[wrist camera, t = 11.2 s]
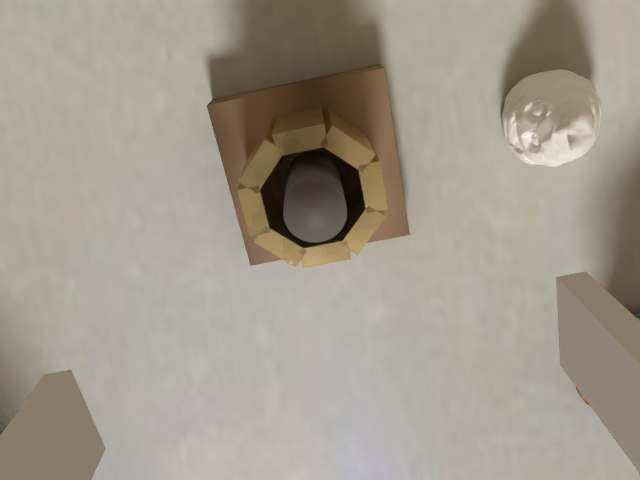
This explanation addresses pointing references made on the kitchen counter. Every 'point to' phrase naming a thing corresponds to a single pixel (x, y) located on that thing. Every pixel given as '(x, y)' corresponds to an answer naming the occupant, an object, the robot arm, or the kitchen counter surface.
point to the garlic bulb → (551, 117)
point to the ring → (268, 212)
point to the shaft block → (313, 154)
